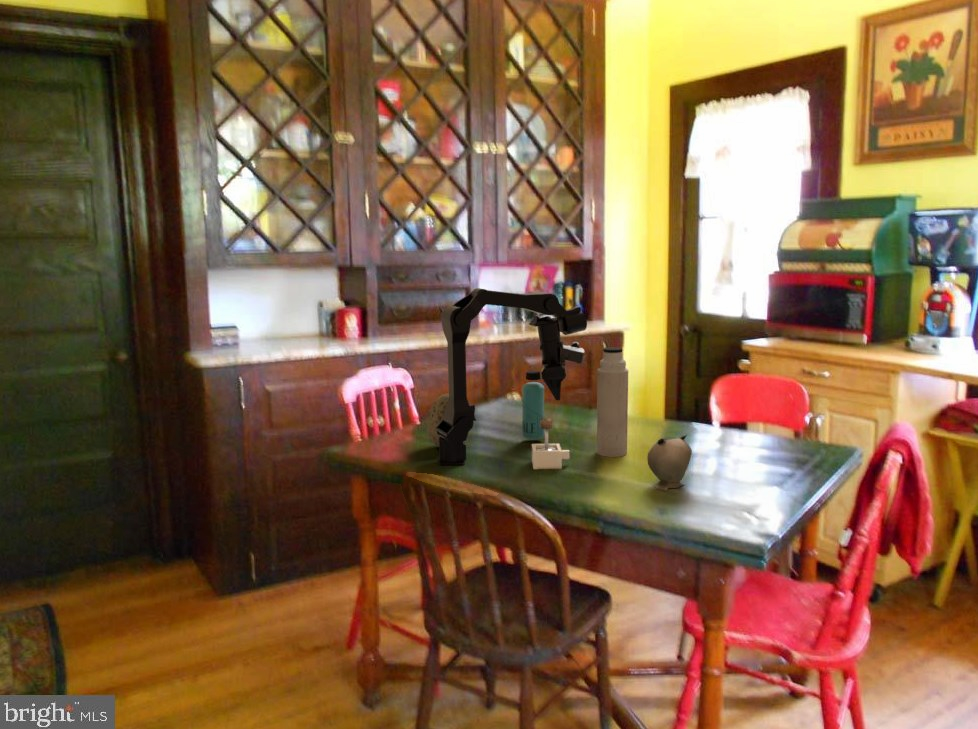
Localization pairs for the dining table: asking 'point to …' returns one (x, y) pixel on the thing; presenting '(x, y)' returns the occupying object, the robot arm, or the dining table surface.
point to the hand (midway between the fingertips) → (558, 395)
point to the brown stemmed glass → (546, 433)
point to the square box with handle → (548, 457)
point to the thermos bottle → (612, 404)
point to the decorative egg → (436, 417)
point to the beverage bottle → (532, 406)
